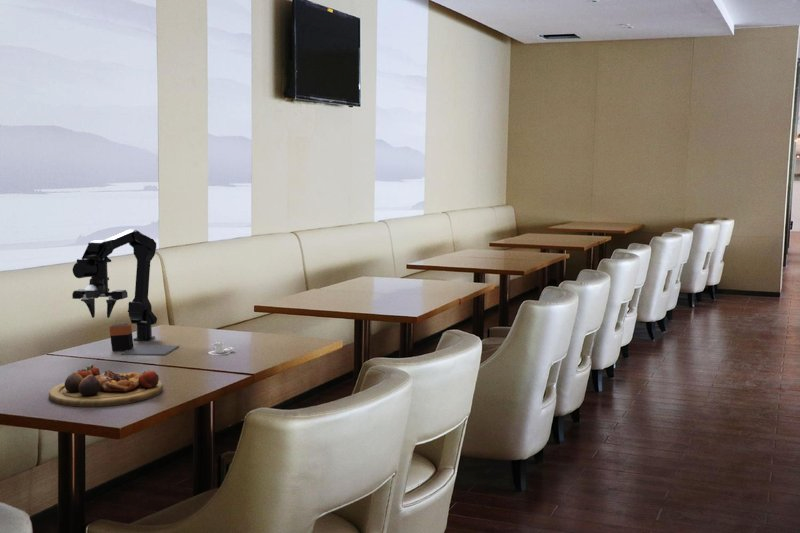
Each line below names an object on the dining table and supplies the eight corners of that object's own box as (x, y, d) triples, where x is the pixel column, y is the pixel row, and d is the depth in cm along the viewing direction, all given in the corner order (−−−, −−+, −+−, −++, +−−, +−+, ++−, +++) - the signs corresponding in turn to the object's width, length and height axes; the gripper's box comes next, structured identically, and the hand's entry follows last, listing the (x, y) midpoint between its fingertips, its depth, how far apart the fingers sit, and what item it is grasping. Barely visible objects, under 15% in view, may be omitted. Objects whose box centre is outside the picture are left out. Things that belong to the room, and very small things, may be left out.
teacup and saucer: (235, 352, 328) (235, 341, 328) (229, 356, 320) (229, 345, 320) (212, 351, 329) (212, 340, 328) (205, 355, 321) (205, 344, 321)
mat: (137, 346, 336) (137, 344, 336) (179, 346, 335) (179, 345, 335) (121, 354, 320) (121, 353, 320) (164, 355, 319) (164, 354, 319)
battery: (129, 350, 326) (126, 323, 325) (111, 351, 327) (108, 324, 326) (134, 347, 330) (131, 321, 329) (116, 348, 331) (113, 322, 330)
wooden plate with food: (182, 386, 276) (182, 359, 275) (124, 412, 245) (123, 382, 244) (92, 379, 284) (91, 353, 283) (25, 404, 254) (23, 375, 253)
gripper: (64, 277, 319) (66, 321, 321) (115, 278, 317) (117, 321, 319) (78, 274, 330) (79, 316, 332) (127, 274, 329) (128, 316, 330)
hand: (100, 317), depth 328 cm, fingers open, 5 cm apart
